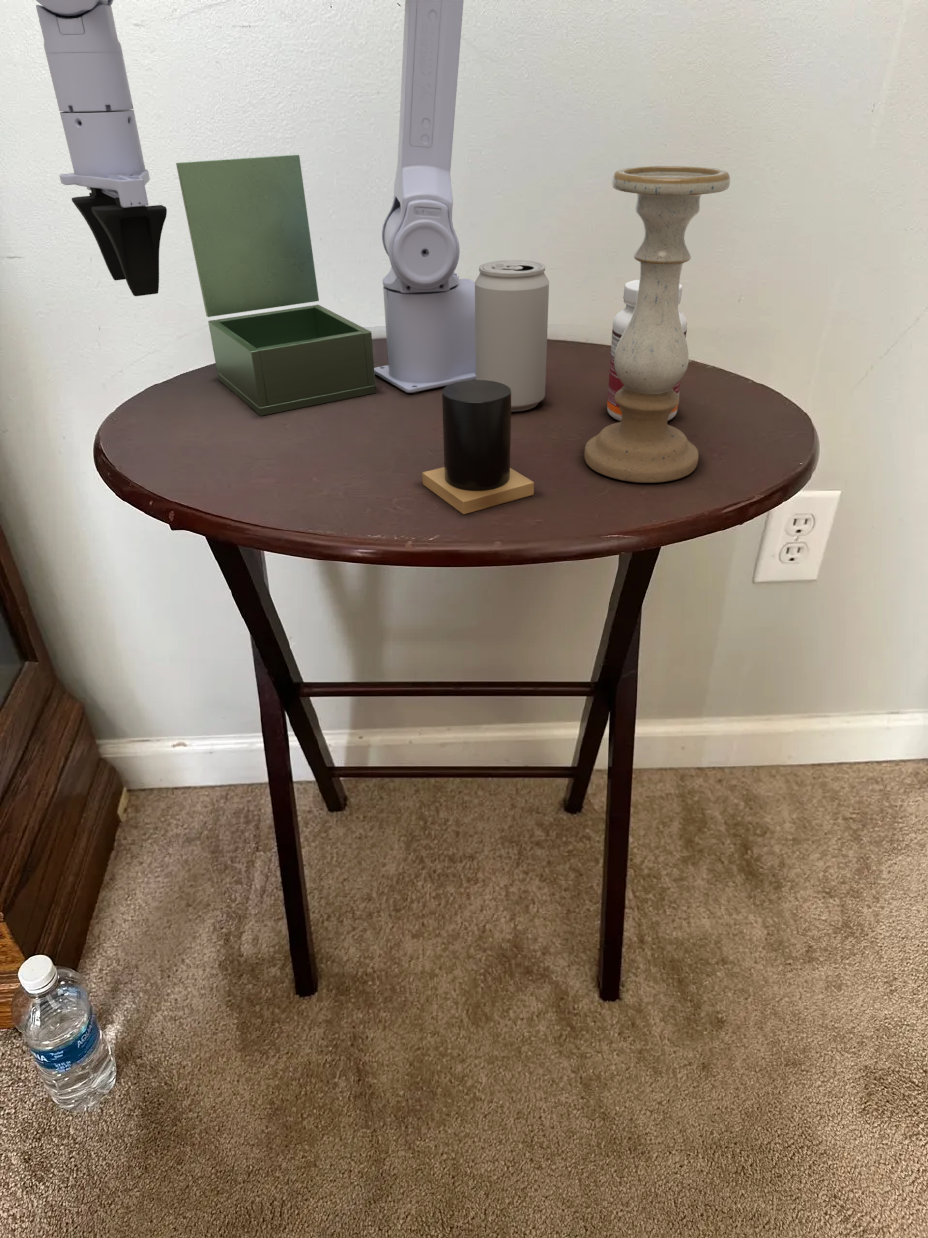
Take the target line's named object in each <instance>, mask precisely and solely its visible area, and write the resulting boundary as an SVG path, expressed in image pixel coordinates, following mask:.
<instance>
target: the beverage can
mask: <svg viewBox="0 0 928 1238" xmlns="http://www.w3.org/2000/svg"><path fill="white" fill-rule="evenodd" d="M478 271H479V274H478V276H477V277H476V279H475V281H474V282H475V355H476V380H488V381H494V382H499V383H502V384H505V385H507V386H508V387H509V388H510V389H511V413H513V412H523V411H528V410H531V409H534V408H535V407H536V406H538V404H539V403H540V402H542V401H543V400H544V398H545V396H546V380H547V355H548V354H547V353H548V351H547V349H548V328H549V327H548V325H549V323H548V322H549V298H550V297H549V296H550V280H549V278H548V277H547V275H546V274H545V271H546V264H544V263H541V262H539V261H533V260H525V259H503V260H495V261H488V262H484V263H481V264H480V265H479V266H478Z"/></svg>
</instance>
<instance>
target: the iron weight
mask: <svg viewBox="0 0 928 1238" xmlns="http://www.w3.org/2000/svg"><path fill="white" fill-rule="evenodd" d="M441 400H442V401H441V402H442V403H441V404H442V405H441V407H442V433H443V434H442V435H443V467H444V473H445V480H446V482H447V483H448V484H449V485H451V486H453V487H455V488H458V489H462V490H469V491H484V490H491V489H495V488H498V487H501V486H503V485H505V484H506V483H507V482H508V481H509V479H510V468H511V440H512V439H511V437H512V436H511V435H512V434H511V433H512V412H511V389H510V388H509V387H508V386H507V385H505V384H502V383H499V382H494V381H488V380H468V381H461V382H456V383H453V384H450V385H447V386H444V388H443V389H442V392H441Z"/></svg>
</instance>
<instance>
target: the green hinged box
mask: <svg viewBox="0 0 928 1238" xmlns="http://www.w3.org/2000/svg"><path fill="white" fill-rule="evenodd" d="M207 322H208V328H209V334H210V335H209V336H210V339H211V345H212V351H213V357H214V363H215V368H216V372H217V379H218V381H220V383H222V384H223V385H224V386H225V387H226V388H227V389H229V390H230V391H231V392H232V393H234V394H235V395H236V396H237V397H238V398H239V399H240V400H241V401H243V402H244V403H245V404H246V405H247V406H249V408H251V409H252V410H253V411H255V413H257V414H258V415H259V416H261V417H263V416H268V415H272V414H277V413H282V412H283V413H284V412H287V411H292V410H297V409H303V408H308V407H313V406H316V405H317V406H318V405H322V404H326V403H332V402H337V401H342V400H346V399H347V400H348V399H351V398H352V399H353V398H357V397H362V396H367V395H372V394H375V393H377V391H376V377H375V375H376V374H374V368H375V361H374V347H373V334H372V331H371V330H369V329H368V328H365V327H363V326H361V325H359V324H358V323H355V322H354V321H351V320H350V319H348V318H345V317H344V316H342V315H339V314H338V313H336V312H334V311H332V310H330V309H328V308H326V307H324V306H322V305H320V304H313V305H308V306H307V305H305V306H299V307H292V308H286V309H281V310H280V309H279V310H271V311H267V312H265V311H264V312H257V313H251V314H245V315H238V316H231V317H224V318H217V319H211V320H208V321H207Z"/></svg>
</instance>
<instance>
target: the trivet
mask: <svg viewBox="0 0 928 1238" xmlns="http://www.w3.org/2000/svg"><path fill="white" fill-rule="evenodd" d="M421 473H422V475H421V476H422V485H423V486H424V487H426V489H428V490H430V491H431V492H432V493H434V494H435V495H437V496H438V497H439V498H441V499H442V500H443V501H444V502H446V503H447V504H449V505H450V506H452V507H453V508H454V509H455V510H457V511H458V512H460V513H461V514H462V515H467V514H470V513H474V512H477V511H481V510H485V509H488V508H492V507H495V506H498V505H503V504H506V503H509V502H512V501H517V500H520V499H524V498H528V497H530V496H534V494H535V482H534V481H533V480H531V479H530V478H528V477H527V476H524V475H523V474H521V473H520V472H518V471H516V470H515V469H513V468H511V467H510V479H509V481H508V482H507V483H506V484H505V485H503V486H501V487H498V488H495V489H491V490H484V491H469V490H462V489H458V488H455V487H453V486H451V485H449V484H448V483H447V482H446V480H445V473H444V466H443V467H438V468H435V469H430V470H426V471H422V472H421Z"/></svg>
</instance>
